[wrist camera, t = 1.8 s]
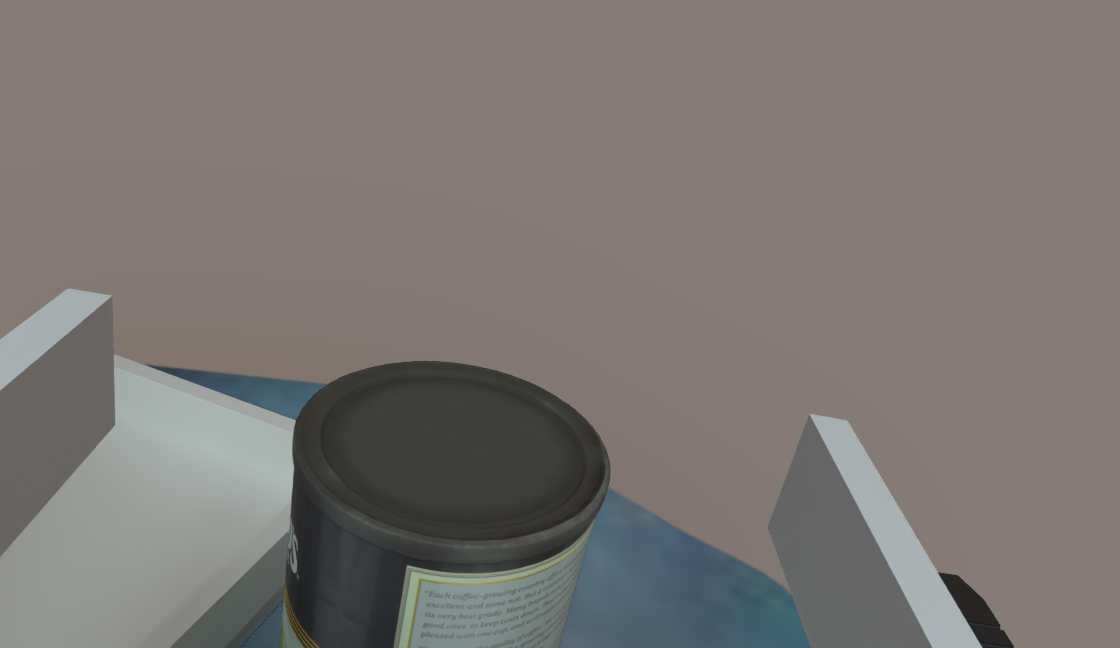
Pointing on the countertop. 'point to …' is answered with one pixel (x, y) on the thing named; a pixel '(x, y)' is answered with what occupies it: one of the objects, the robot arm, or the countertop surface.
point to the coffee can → (437, 511)
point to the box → (158, 527)
